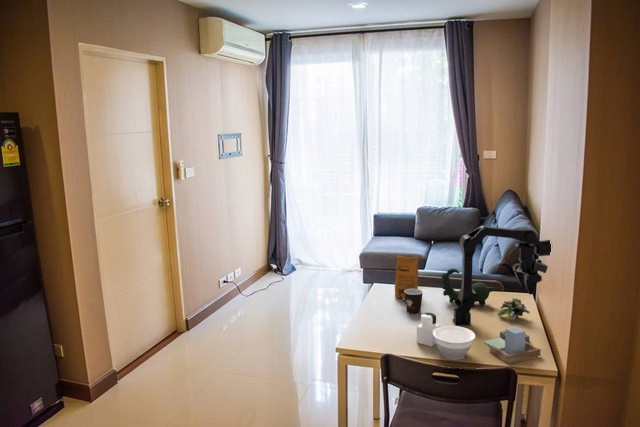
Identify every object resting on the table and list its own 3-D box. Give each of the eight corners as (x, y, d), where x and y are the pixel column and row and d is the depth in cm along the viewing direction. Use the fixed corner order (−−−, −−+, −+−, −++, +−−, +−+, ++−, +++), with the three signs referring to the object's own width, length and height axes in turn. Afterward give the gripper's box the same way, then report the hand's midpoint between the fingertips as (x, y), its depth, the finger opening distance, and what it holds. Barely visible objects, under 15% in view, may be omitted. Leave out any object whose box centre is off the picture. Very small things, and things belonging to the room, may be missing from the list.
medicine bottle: (424, 336, 208) (424, 309, 206) (440, 340, 204) (440, 313, 202) (416, 342, 203) (416, 315, 201) (432, 347, 199) (432, 318, 196)
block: (504, 352, 191) (505, 328, 190) (515, 350, 193) (516, 326, 191) (513, 358, 187) (514, 333, 185) (524, 356, 188) (525, 331, 187)
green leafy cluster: (515, 327, 227) (533, 308, 224) (513, 332, 218) (531, 312, 214) (495, 311, 231) (512, 291, 228) (492, 314, 222) (509, 294, 218)
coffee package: (397, 292, 264) (396, 252, 260) (420, 295, 259) (420, 254, 255) (392, 298, 255) (392, 257, 251) (416, 301, 250) (416, 259, 246)
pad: (483, 342, 201) (483, 341, 201) (499, 339, 204) (499, 337, 203) (496, 350, 194) (496, 349, 193) (513, 346, 196) (513, 345, 196)
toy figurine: (443, 308, 243) (497, 307, 236) (440, 272, 240) (494, 269, 233) (444, 302, 252) (496, 301, 245) (441, 266, 249) (493, 264, 242)
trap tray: (499, 336, 206) (500, 332, 205) (515, 333, 208) (515, 328, 208) (513, 344, 198) (513, 339, 198) (529, 341, 201) (529, 336, 200)
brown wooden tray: (490, 352, 192) (490, 345, 192) (520, 345, 197) (520, 338, 196) (508, 364, 182) (508, 356, 182) (540, 356, 187) (540, 349, 187)
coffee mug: (426, 313, 234) (426, 292, 232) (410, 316, 231) (410, 295, 229) (413, 305, 245) (412, 285, 243) (397, 308, 242) (397, 288, 240)
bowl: (426, 357, 190) (426, 337, 188) (440, 342, 203) (441, 322, 201) (467, 367, 181) (467, 346, 179) (480, 350, 194) (480, 330, 192)
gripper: (554, 261, 205) (554, 297, 208) (537, 250, 223) (537, 283, 226) (527, 262, 206) (527, 298, 208) (512, 251, 224) (512, 284, 227)
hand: (526, 290), depth 217 cm, fingers open, 9 cm apart
